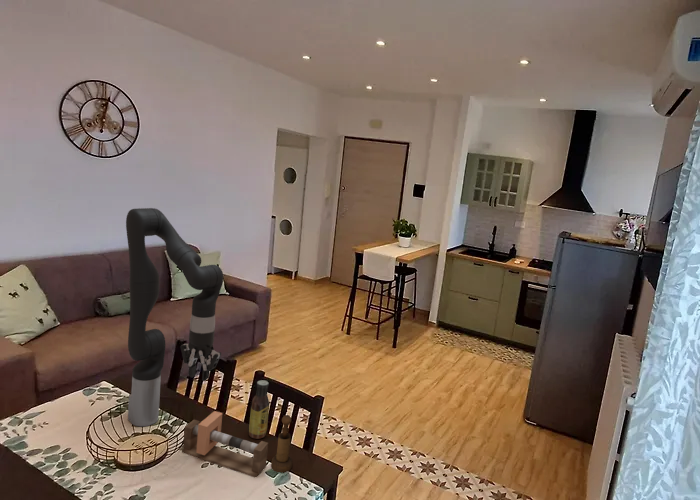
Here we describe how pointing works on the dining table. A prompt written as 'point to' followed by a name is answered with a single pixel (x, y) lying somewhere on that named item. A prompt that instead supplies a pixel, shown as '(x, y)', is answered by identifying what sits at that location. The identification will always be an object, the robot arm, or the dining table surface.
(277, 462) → the wooden pepper mill
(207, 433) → the collar
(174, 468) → the dining table surface
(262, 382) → the sauce bottle
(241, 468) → the pipe stand
